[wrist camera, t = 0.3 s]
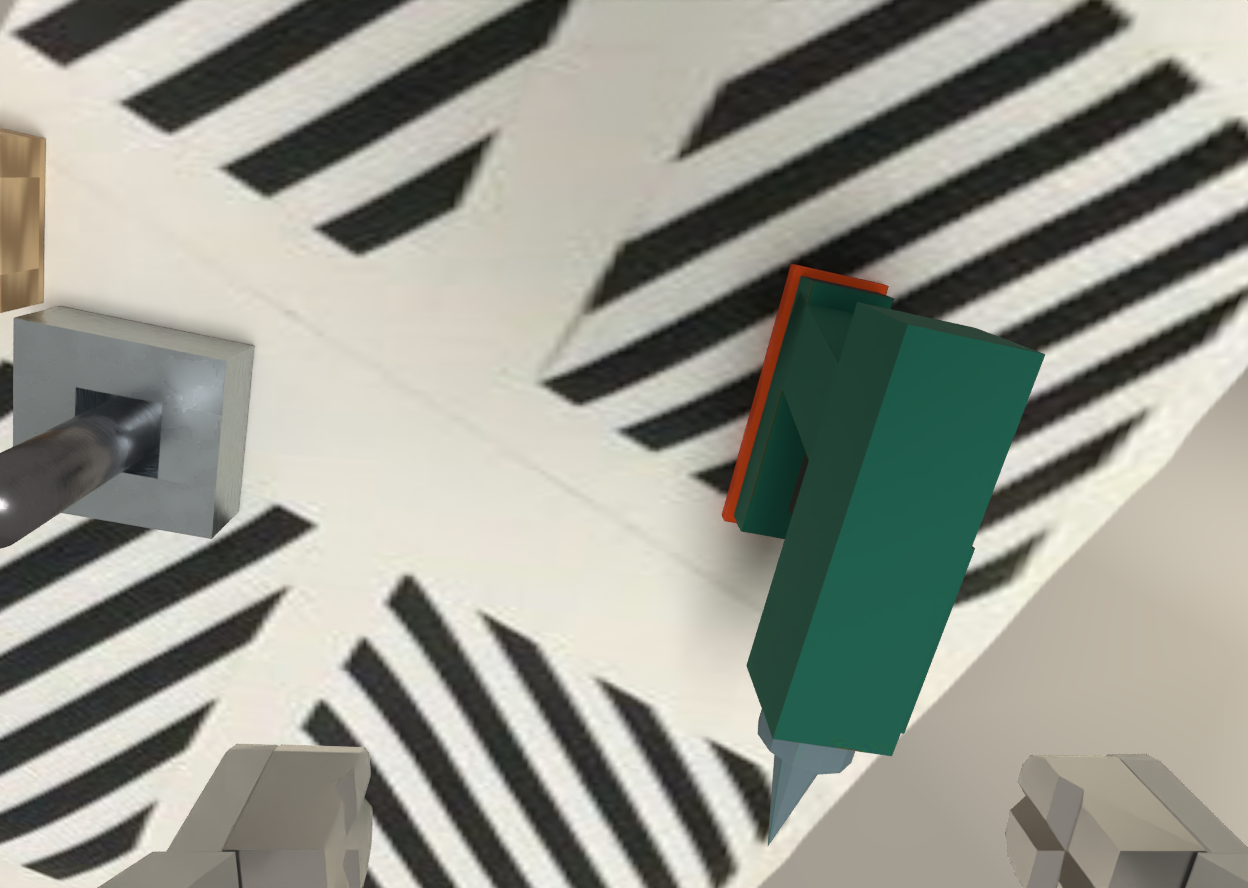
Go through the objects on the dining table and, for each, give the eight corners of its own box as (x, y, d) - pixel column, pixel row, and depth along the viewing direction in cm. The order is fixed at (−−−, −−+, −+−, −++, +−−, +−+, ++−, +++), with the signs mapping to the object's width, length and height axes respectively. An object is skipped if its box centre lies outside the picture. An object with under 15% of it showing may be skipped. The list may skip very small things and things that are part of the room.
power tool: (764, 685, 64) (846, 900, 45) (678, 672, 63) (724, 886, 44) (890, 285, 54) (1061, 345, 35) (791, 263, 54) (911, 312, 35)
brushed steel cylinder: (119, 380, 53) (-64, 463, 38) (183, 393, 53) (28, 480, 38) (116, 437, 54) (-62, 540, 39) (179, 449, 54) (27, 555, 39)
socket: (59, 306, 51) (13, 317, 47) (254, 345, 53) (226, 360, 49) (56, 478, 55) (13, 504, 51) (238, 511, 56) (211, 538, 52)
